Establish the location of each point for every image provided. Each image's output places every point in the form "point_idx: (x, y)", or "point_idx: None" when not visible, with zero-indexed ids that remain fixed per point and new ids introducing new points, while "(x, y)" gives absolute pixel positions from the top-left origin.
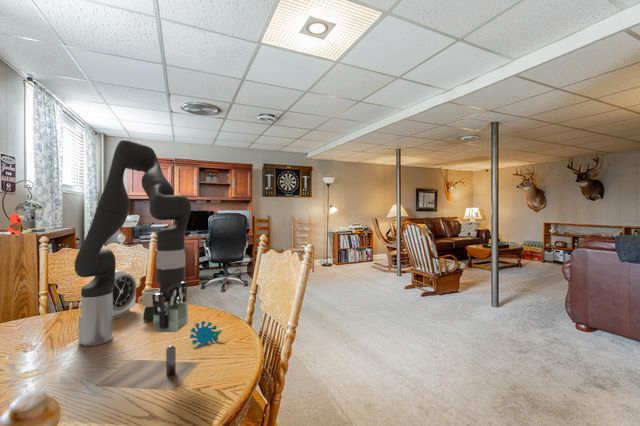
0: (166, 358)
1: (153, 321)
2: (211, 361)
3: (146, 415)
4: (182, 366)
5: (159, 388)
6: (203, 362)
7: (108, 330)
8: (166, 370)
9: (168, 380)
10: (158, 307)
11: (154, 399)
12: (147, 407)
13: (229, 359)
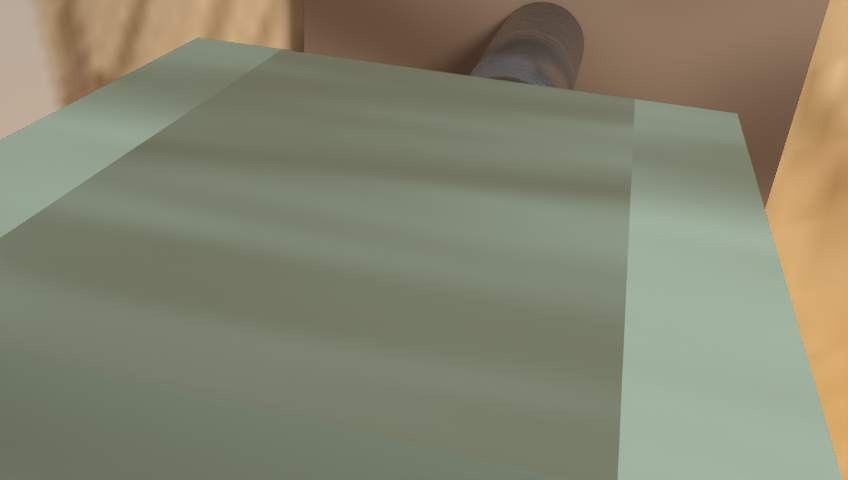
0: (480, 62)
1: (52, 113)
2: (839, 311)
3: (91, 58)
4: (692, 104)
5: (310, 41)
6: (834, 245)
7: None
8: (505, 24)
9: (434, 65)
10: (41, 374)
11: (247, 29)
12: (159, 22)
13: (844, 447)
